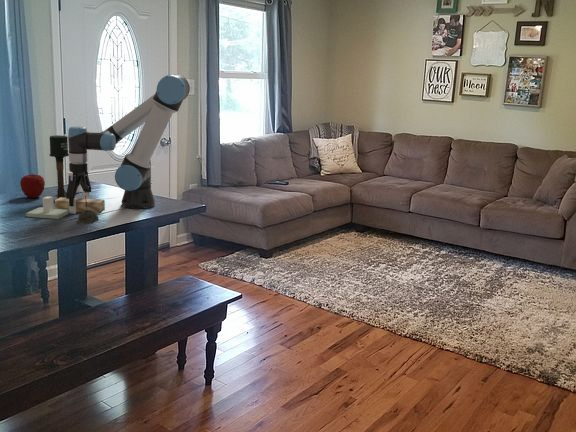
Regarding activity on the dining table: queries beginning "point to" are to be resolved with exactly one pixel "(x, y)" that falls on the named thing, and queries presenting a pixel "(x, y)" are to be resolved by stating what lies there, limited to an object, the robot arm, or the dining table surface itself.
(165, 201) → the dining table surface
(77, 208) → the beam
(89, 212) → the sword in stone
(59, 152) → the stick grenade
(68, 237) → the dining table surface
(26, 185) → the apple
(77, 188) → the white cup
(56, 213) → the fulcrum
